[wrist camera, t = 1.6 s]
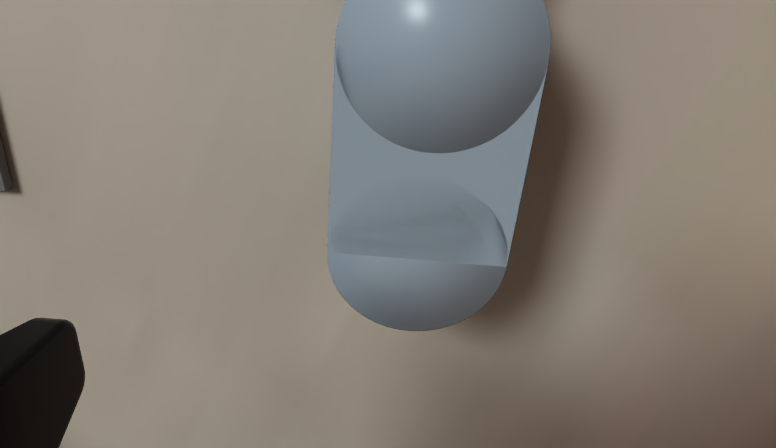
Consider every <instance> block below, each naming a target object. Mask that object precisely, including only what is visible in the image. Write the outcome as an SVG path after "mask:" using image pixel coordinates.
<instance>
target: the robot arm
mask: <svg viewBox="0 0 776 448" xmlns="http://www.w3.org/2000/svg"><path fill="white" fill-rule="evenodd" d="M84 381H85V370H84V365H83V360H82V356H81V351H80V346H79V342H78V337H77V333H76V329H75V327H74V325H73V324H72V323H71V322H70V321H68V320H63V319H50V318H35V319H32V320H29V321H27V322H25V323H23V324H21V325H19V326H17V327H15V328H13V329H11V330H9V331H7V332H5V333H4V334H2V335H0V448H59V446H60V443H61V441H62V439H63V436H64V434H65V431H66V429H67V427H68V424H69V422H70V419H71V417H72V415H73V412H74V410H75V407H76V405H77V403H78V400H79V398H80V395H81V393H82V390H83V386H84Z"/></svg>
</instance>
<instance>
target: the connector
mask: <svg viewBox="0 0 776 448" xmlns="http://www.w3.org/2000/svg"><path fill="white" fill-rule="evenodd" d="M550 49H551V32H550V23H549V17H548V14H547V10H546V6H545V3H544V1H543V0H345V3H344V5H343V8H342V11H341V13H340V17H339V21H338V25H337V29H336V39H335V58H334V85H333V113H332V141H331V168H330V196H329V223H328V251H327V254H328V266H329V271H330V274H331V277H332V280H333V282H334V284H335V286H336V288H337V290H338V291H339V293H340V294H341V296H342V297H343V298H344V300H345V301H346V302H347V303H348V304H349V305H350V306H351V307H352V308H354V309H355V310H356V311H357V312H358V313H360V314H361V315H363V316H364V317H366V318H368V319H370V320H372V321H374V322H376V323H378V324H381V325H384V326H386V327H390V328H394V329H399V330H407V331H427V330H435V329H440V328H444V327H447V326H451V325H453V324H456V323H458V322H461V321H463V320H465V319H466V318H468V317H470V316H472V315H473V314H474V313H476V312H477V311H479V310H480V309H481V308H482V307H483V306H484V305H485V304H486V303H487V302H488V301H489V300H490V299H491V298H492V297H493V295H494V294H495V292H496V291H497V289H498V288H499V286H500V284H501V282H502V280H503V277H504V274H505V271H506V267H507V262H508V257H509V253H510V248H511V243H512V238H513V233H514V228H515V223H516V219H517V214H518V209H519V204H520V199H521V194H522V189H523V185H524V180H525V175H526V170H527V165H528V160H529V155H530V150H531V146H532V141H533V136H534V131H535V126H536V121H537V116H538V112H539V107H540V102H541V97H542V92H543V87H544V82H545V78H546V73H547V68H548V63H549V56H550Z"/></svg>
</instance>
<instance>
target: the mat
mask: <svg viewBox="0 0 776 448" xmlns="http://www.w3.org/2000/svg"><path fill="white" fill-rule="evenodd" d="M10 187H12V182H11V178H10V173H9V169H8V165H7V161H6V157H5V153H4V149H3V145H2V140H1V136H0V191H6V190H8V189H9V188H10Z"/></svg>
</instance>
